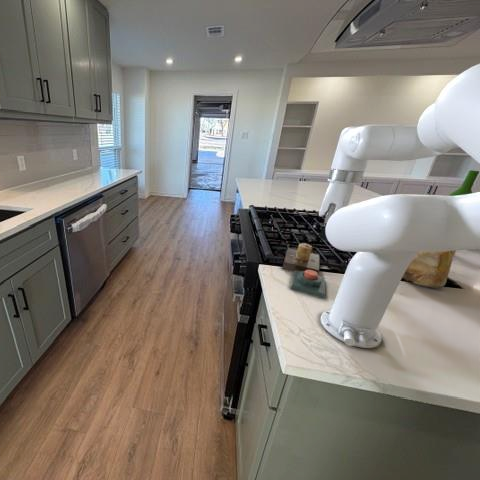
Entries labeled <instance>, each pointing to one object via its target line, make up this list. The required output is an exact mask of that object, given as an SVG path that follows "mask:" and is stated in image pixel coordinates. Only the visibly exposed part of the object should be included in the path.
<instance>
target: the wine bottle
mask: <svg viewBox="0 0 480 480" xmlns="http://www.w3.org/2000/svg"><path fill="white" fill-rule="evenodd" d="M479 173H480V170H473V169H472V170H471V169H470V170H469V171H468V173H467V175H466V177H465V178H464V180H463V182H462V184H461V185H460V187H459V188H458V189H456V190H454V191H453V192H451V193H450V194H448V195H447V196H459V195H466V194H472V193H473V190H472V188H473V186H474V183H475V182H476V180H477V178H478V175H479Z"/></svg>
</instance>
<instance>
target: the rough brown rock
mask: <svg viewBox="0 0 480 480" xmlns="http://www.w3.org/2000/svg"><path fill="white" fill-rule="evenodd" d="M456 252H457V250H455V251H444V252H422V251H420V252H419V253H418V255H417V256H416V257H415V258H414V259H413V261H412V262H411V263H410V265H409V266H408V268H407V269H406V271H405V273H404V275H403V277H402V279H404V280H405V281H406V282H412V283H413V284H415V285H419V286H422V287H427V288H431V289H439V288H442V287H443V288H444V286H445V285H446V283H448V282H447V280H448V278H449V274H450V271H451V267H452V262H453V259H454V257H455V254H456Z"/></svg>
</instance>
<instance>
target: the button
mask: <svg viewBox="0 0 480 480" xmlns="http://www.w3.org/2000/svg"><path fill="white" fill-rule="evenodd" d="M318 275H319V272H318V273H317V272H315V271H313V270H305V273H304V277H306V278H308V279H311V280H316V279H317V276H318Z"/></svg>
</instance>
